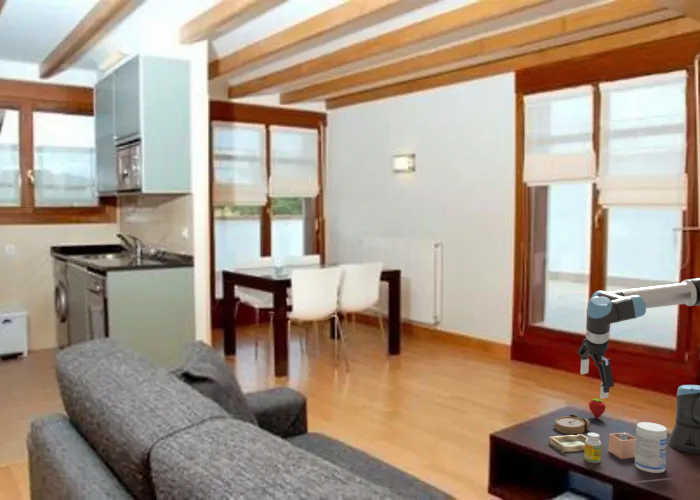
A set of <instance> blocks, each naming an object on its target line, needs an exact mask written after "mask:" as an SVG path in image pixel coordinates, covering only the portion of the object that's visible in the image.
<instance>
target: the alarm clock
mask: <svg viewBox="0 0 700 500" xmlns="http://www.w3.org/2000/svg"><path fill="white" fill-rule="evenodd" d="M552 427H554V428H555V430H556V431H558V432H560V433H561V434H566V435H573V434H583V433H585V431H589V430H590V428H591V423H590V420H589V419H587V418H584V417H578V415H576V414H575V413H571V414H569V415H568V416H567V415H566V416H559V417H557V418H556V419H554V424H553V425H552Z"/></svg>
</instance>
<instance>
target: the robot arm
mask: <svg viewBox="0 0 700 500" xmlns="http://www.w3.org/2000/svg"><path fill="white" fill-rule="evenodd" d="M678 305H686V306H687V307H693V306H700V277H697V278H689V279H684V280H682V281H681V282H679V283H669V284H662V285H654V286H646V287H637V288H630V289H629V288H628V289H621V290H612V291H607V290H597V291H595V292H593V294H592V295H591V297H590V299H589V300H588V303H587V306H586V307H587V308H586V325H585V328H586V329H585V338H583V340H582V343H581V346H580V347H579V348H578V350H577V354H578V355H579V359H580V371H579V373H580V375H585V374H589V367H590V365H589V364H590V359H589V357H590V358H591V359H592V360H593V361H594V364H595V367H597V370H598V372H599V373H598V374H599V377H600V380H601V383H600V391H599V392H600V394H599V399H601V400H602V399H606V398H607V399H608V398H609V393H610V388H613V387H615V385H614V379H613V378H614V377H613V372H612V367H611V359H610V358H606V355H605V353H606V352H607V351H608V350H609V343H610V342H609V340H610V331H611V324H612V325H613V324H615V323H616V324H617V323H620V322H624V321H630V320H633V319H635V320H636V319H637V318H640V317H643V316H645V314H646V312H647V309H652V308H661V307H668V306H678ZM675 396H676V405H675V407H676V408H675V424H674V426H673V429H672V431H671V434H670V435H669V438H668V445H670V446H671V447H672V448H673V449H676V450H678V451H681V452H684V453H688V454H693V455H700V385H698V384H682V385H680V386H678V388H677V392H676V395H675Z"/></svg>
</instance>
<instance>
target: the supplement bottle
mask: <svg viewBox="0 0 700 500" xmlns="http://www.w3.org/2000/svg"><path fill="white" fill-rule="evenodd" d="M586 437H587V438H588V439H586V440H585V450H584V454H583V455H584V456H583V457H584V458H583V459H584V460H585V461H586V462H589V463H595V464H597V463H600V462H601V458H602V457H601V456H602V441H601V440H600V438H601V437H600V434H598V433H596V432H587V435H586Z"/></svg>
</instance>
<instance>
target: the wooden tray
mask: <svg viewBox="0 0 700 500" xmlns="http://www.w3.org/2000/svg"><path fill="white" fill-rule="evenodd" d="M586 439H588V438H587V435H584V434H583V433H581V434H577V435H573V434H566V435H555V436H548V444H549V445H550V446H552V447H553V448H554V449H557V450H558V451H559V452H561V453H562V454H565V455H566V453H570V452H581V451H585V440H586Z"/></svg>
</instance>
